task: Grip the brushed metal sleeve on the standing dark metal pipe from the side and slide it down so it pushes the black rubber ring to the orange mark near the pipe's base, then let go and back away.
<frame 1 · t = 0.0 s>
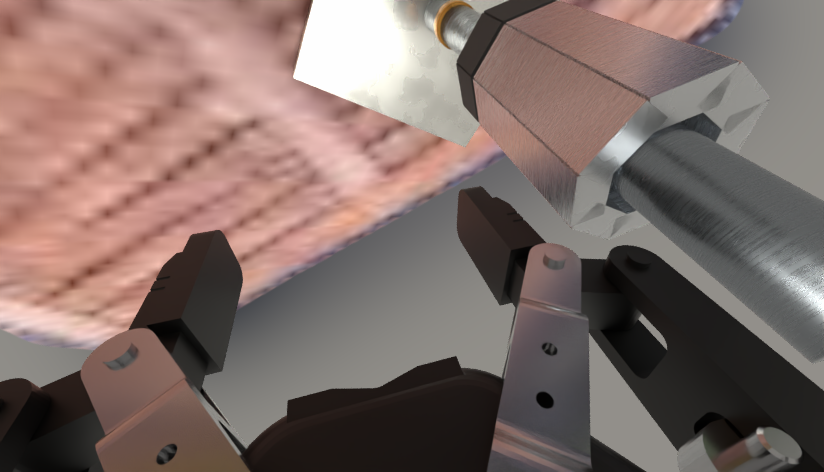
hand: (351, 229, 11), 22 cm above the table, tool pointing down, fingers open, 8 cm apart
pipe stand: (432, 9, 26), on the table
rubber ring: (519, 70, 16), point 15 cm above the table, slide at 0.0 cm
metal sleeve: (582, 114, 13), point 20 cm above the table, slide at 0.0 cm
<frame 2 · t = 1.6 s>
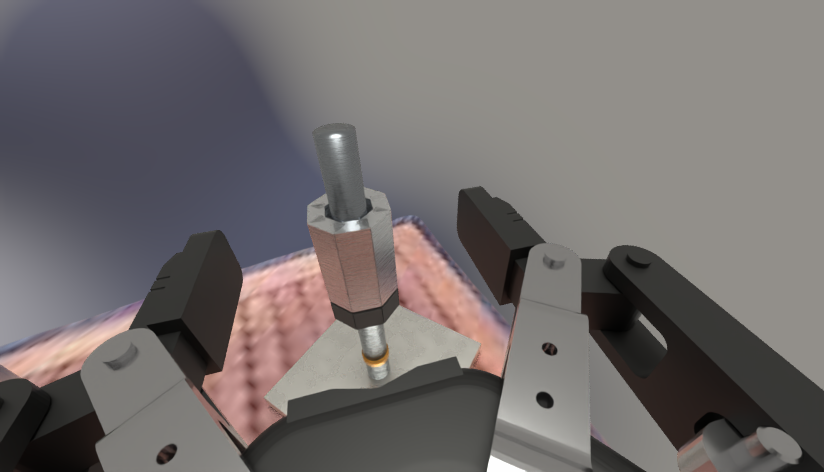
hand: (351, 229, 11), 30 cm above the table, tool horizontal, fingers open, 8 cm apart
pipe stand: (380, 377, 38), on the table
rubber ring: (364, 294, 29), point 15 cm above the table, slide at 0.0 cm
metal sleeve: (356, 249, 25), point 20 cm above the table, slide at -0.1 cm
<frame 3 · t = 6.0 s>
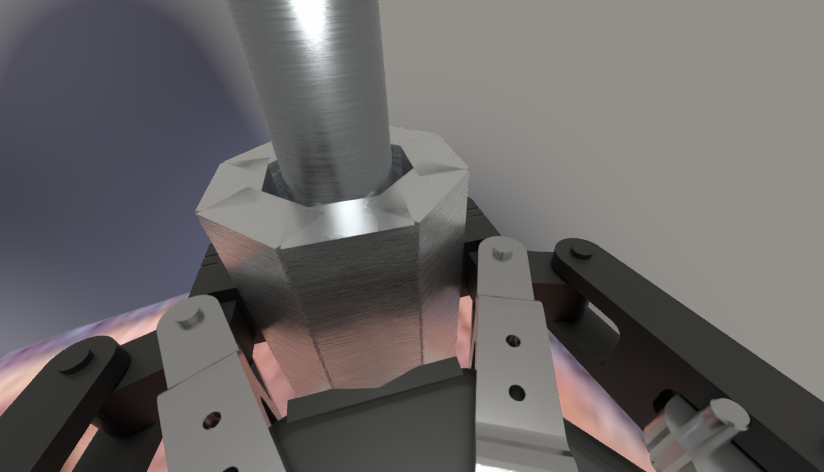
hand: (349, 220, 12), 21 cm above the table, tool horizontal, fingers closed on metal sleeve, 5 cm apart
metal sleeve: (361, 281, 10), point 20 cm above the table, slide at 0.0 cm, touching gripper
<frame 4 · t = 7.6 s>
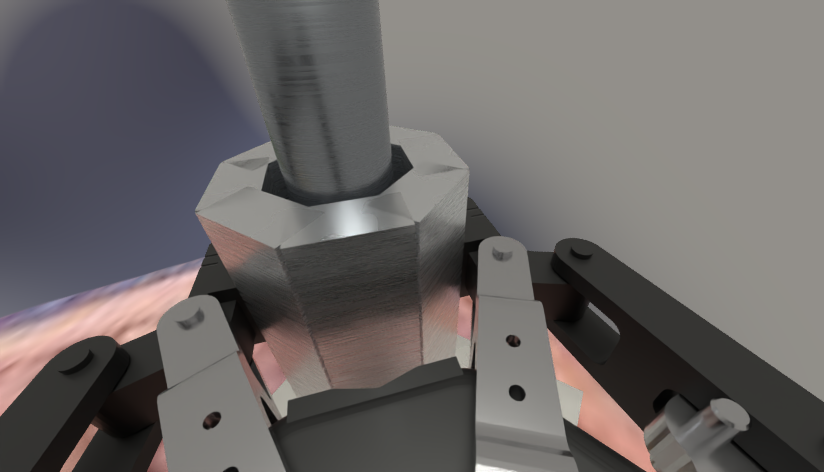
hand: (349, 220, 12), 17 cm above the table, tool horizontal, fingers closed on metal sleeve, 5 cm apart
pipe stand: (396, 461, 20), on the table
metal sleeve: (361, 281, 10), point 16 cm above the table, slide at 4.2 cm, touching gripper, rubber ring
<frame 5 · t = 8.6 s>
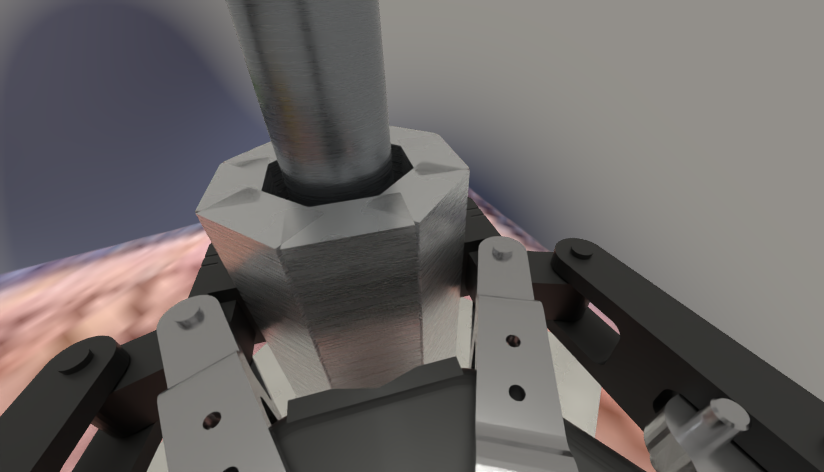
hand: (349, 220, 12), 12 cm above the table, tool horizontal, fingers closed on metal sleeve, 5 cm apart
pipe stand: (391, 432, 17), on the table
metal sleeve: (361, 281, 10), point 12 cm above the table, slide at 8.6 cm, touching gripper, rubber ring
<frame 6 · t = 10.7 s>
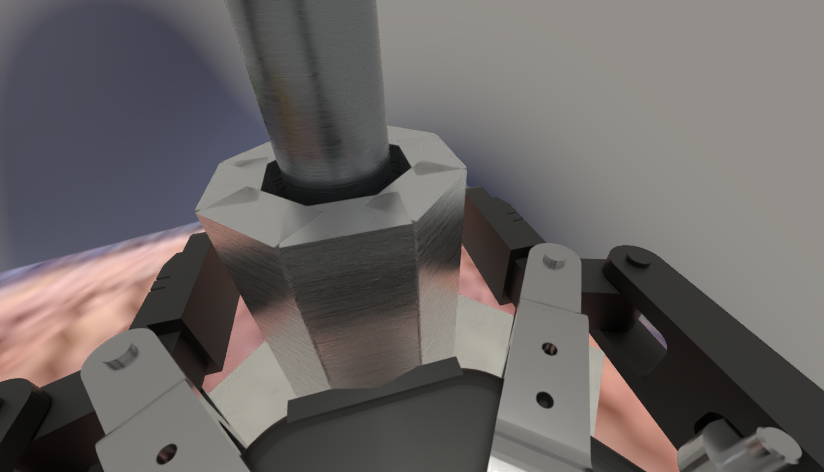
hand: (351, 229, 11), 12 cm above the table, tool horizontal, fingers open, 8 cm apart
pipe stand: (390, 430, 17), on the table
metal sleeve: (360, 280, 10), point 12 cm above the table, slide at 8.8 cm, touching rubber ring
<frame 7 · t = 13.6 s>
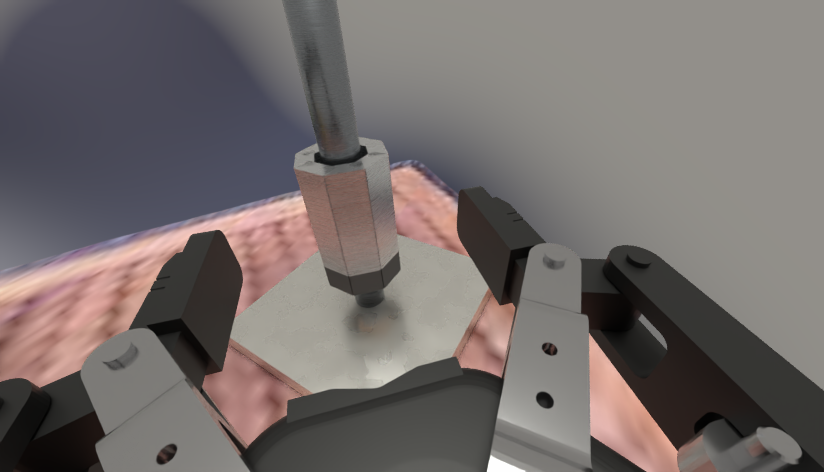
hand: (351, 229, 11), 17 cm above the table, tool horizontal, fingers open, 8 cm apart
pipe stand: (372, 310, 30), on the table
rubber ring: (362, 258, 26), point 7 cm above the table, slide at 8.5 cm, touching metal sleeve
metal sleeve: (351, 206, 23), point 12 cm above the table, slide at 8.8 cm, touching rubber ring
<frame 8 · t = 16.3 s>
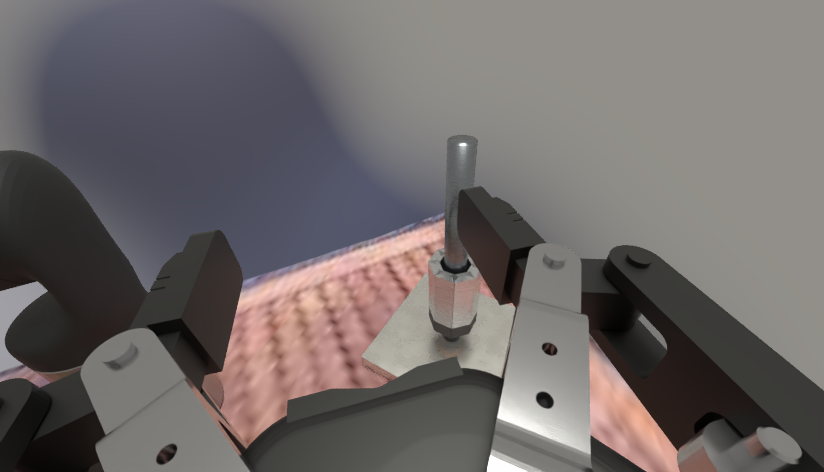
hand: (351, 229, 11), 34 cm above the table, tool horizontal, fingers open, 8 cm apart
pipe stand: (450, 342, 46), on the table
rubber ring: (452, 313, 42), point 7 cm above the table, slide at 8.5 cm, touching metal sleeve
metal sleeve: (454, 287, 39), point 12 cm above the table, slide at 8.8 cm, touching rubber ring
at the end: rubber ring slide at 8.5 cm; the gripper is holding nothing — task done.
